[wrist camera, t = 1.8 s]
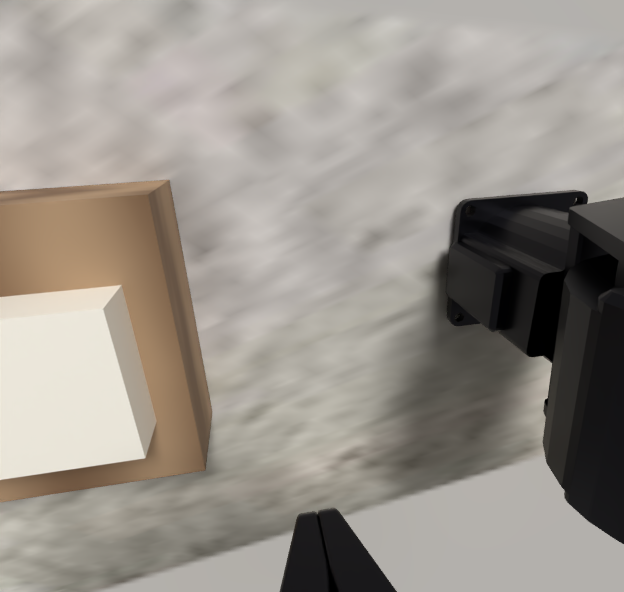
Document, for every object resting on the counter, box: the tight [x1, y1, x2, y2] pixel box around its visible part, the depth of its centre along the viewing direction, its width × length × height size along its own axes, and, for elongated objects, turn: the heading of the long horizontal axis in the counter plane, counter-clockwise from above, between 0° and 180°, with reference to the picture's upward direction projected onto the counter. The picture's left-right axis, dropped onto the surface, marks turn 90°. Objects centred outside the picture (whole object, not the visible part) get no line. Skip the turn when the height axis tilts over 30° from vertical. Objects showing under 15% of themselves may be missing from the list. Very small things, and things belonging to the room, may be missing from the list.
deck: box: [0, 180, 212, 502], centre depth 17 cm, size 11×12×4 cm
